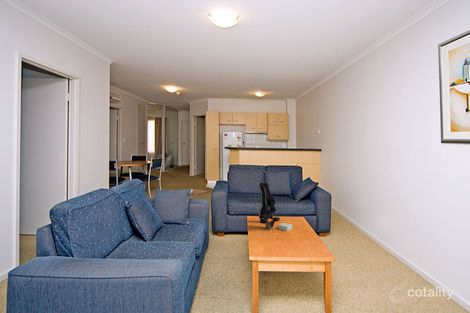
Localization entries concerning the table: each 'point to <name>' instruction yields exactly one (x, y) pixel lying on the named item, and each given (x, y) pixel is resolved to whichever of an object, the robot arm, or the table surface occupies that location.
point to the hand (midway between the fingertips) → (269, 227)
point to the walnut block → (268, 225)
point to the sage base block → (284, 226)
